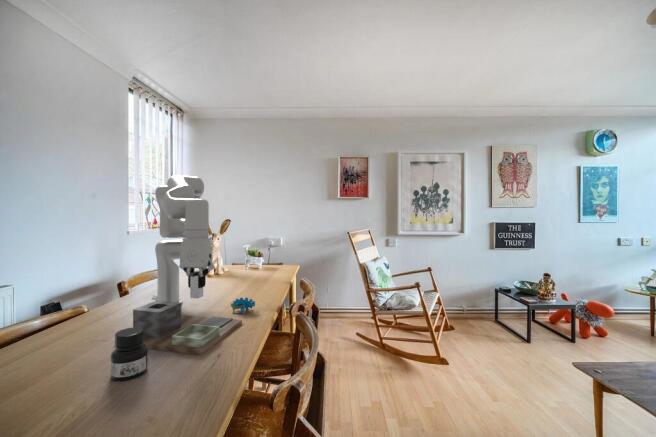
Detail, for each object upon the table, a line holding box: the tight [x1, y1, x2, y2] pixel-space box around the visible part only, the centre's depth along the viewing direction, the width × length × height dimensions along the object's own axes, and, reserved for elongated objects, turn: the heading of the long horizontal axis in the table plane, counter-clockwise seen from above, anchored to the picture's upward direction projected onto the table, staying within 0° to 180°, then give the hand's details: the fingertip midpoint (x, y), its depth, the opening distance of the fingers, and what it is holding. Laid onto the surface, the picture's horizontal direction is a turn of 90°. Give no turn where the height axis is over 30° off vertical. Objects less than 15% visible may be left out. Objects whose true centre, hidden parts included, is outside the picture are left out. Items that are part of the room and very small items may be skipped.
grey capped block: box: [189, 269, 204, 299], centre depth 106 cm, size 6×3×9 cm, turn 169°
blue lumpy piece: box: [230, 297, 256, 315], centre depth 139 cm, size 11×6×10 cm
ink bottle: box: [110, 326, 149, 381], centre depth 87 cm, size 10×9×12 cm
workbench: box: [132, 300, 243, 356], centre depth 115 cm, size 33×28×11 cm
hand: (196, 286), depth 106 cm, fingers closed on grey capped block, 3 cm apart
